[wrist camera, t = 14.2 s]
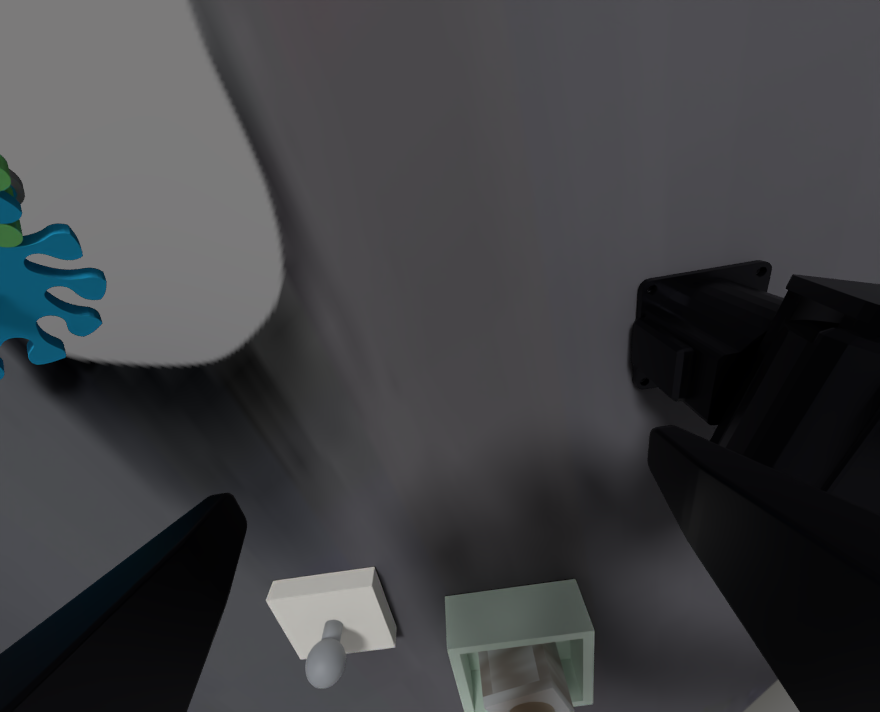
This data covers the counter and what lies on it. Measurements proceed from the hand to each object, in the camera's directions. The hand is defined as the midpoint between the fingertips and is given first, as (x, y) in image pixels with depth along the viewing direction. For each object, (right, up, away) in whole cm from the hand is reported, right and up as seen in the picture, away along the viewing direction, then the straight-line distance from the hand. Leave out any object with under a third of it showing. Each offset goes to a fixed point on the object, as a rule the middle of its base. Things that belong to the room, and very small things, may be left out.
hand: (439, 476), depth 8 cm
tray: (+6, -21, +24) cm, 33 cm away
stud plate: (-8, -18, +22) cm, 30 cm away
